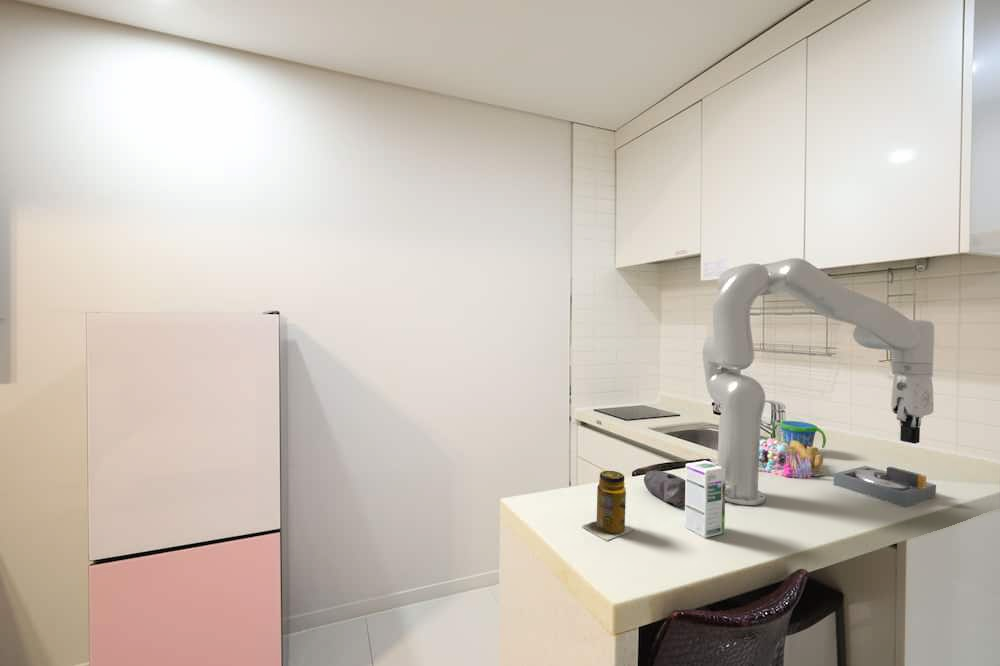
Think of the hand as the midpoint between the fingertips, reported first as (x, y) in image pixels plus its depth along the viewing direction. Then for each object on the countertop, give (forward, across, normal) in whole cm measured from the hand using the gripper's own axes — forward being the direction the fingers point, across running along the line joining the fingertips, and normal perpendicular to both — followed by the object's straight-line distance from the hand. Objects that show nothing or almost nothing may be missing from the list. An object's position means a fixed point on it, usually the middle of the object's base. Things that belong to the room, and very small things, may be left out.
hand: (909, 441), depth 113 cm
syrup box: (+15, -60, +11) cm, 63 cm away
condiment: (+15, -79, +20) cm, 83 cm away
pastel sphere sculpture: (+16, -3, +33) cm, 37 cm away
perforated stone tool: (+15, -55, +27) cm, 63 cm away
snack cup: (+16, +18, +38) cm, 45 cm away
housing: (+16, +5, +7) cm, 18 cm away
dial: (+14, +5, +6) cm, 16 cm away
